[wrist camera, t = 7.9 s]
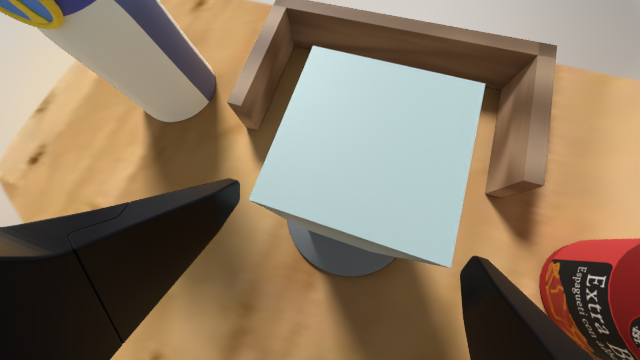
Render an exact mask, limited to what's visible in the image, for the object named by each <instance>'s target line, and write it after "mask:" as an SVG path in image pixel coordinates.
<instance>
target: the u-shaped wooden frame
mask: <svg viewBox="0 0 640 360" xmlns="http://www.w3.org/2000/svg"><path fill="white" fill-rule="evenodd" d="M294 46H298V47H303V48H307V49H312V47H313V46H317V47H321V48H326V49H331V50H335V51H340V52H344V53H349V54H353V55H358V56H362V57H367V58H371V59H376V60H381V61H385V62H390V63H394V64H399V65H403V66H408V67H412V68H417V69H421V70H426V71H430V72H435V73H440V74H444V75H449V76H453V77H458V78H462V79H467V80H471V81H476V82H480V83H485V87H490V88H495V89H499V90H501V93H500V100H499V106H498V113H497V119H496V126H495V132H494V139H493V145H492V152H491V158H490V165H489V171H488V178H487V184H486V191H485V194H488V195H492V196H496V197H499V198H503V197H506V196H510V195H513V194H517V193H520V192H524V191H527V190H531V189H534V188H538V187H541V186H544V183H545V172H546V161H547V150H548V139H549V128H550V117H551V106H552V95H553V84H554V73H555V62H556V51H557V50H556V49H557V46H556V45H551V44H546V43H540V42H534V41H529V40H523V39H517V38H512V37H506V36H501V35H495V34H490V33H484V32H479V31H474V30H468V29H463V28H457V27H452V26H446V25H441V24H435V23H429V22H424V21H419V20H413V19H408V18H402V17H397V16H391V15H386V14H380V13H375V12H369V11H364V10H358V9H353V8H347V7H342V6H336V5H331V4H325V3H319V2H314V1H309V0H276V1H275V3H274V5H273V7H272V9H271V11H270V13H269V15H268V17H267V19H266V21H265V24H264V26H263V28H262V30H261V32H260V34H259V36H258V38H257V40H256V42H255V44H254V47H253V49H252V51H251V53H250V55H249V57H248V59H247V61H246V63H245V65H244V67H243V69H242V72H241V74H240V76H239V78H238V80H237V82H236V84H235V86H234V88H233V90H232V92H231V94H230V97H229V99H228V101H227V103H228V104H229V106H230V107H231V108H232V110H233V111H234V112H235V114H236V115H237V116H238V117H239V119H240V120H241V121H242V123H243V124H244V125H245V127H246V128H250V129H254V130H257V131H258V129H259V127H260V125H261V122H262V120H263V118H264V115H265V113H266V111H267V108H268V106H269V104H270V101H271V99H272V97H273V94H274V92H275V89H276V87H277V85H278V82H279V80H280V78H281V75H282V73H283V71H284V68H285V66H286V64H287V61H288V59H289V57H290V54H291V52H292V50H293V47H294Z"/></svg>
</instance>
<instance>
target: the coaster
mask: <svg viewBox="0 0 640 360" xmlns="http://www.w3.org/2000/svg"><path fill="white" fill-rule="evenodd" d="M287 223H288V228H289V231H290V234H291V237H292V239H293V241H294V243H295V245H296V246H297V248H298V249H299V251H300V252H301V253H302V255H303V256H304V257H305V258H306V259H308V260H309V261H310V262H311V263H312V264H314V265H315V266H317V267H318V268H320V269H322V270H324V271H326V272H329V273H332V274H336V275H340V276H349V277H350V276H362V275H367V274H370V273H373V272H376V271H378V270H380V269H382V268H383V267H385V266H386V265H388V264H389V263H390V262H391V261H392V260H394V259H395V258H396V257H394V256H389V255H384V254H379V253H374V252H370V251H367V250H364V249H361V248H358V247H355V246H352V245H349V244H346V243H344V242H341V241H338V240H335V239H332V238H329V237H326V236H323V235H320V234H317V233H315V232H312V231H309V230H307V229H305V228H303V227H301V226H299V225H297V224H295V223H293V222H291V221H289V220H287Z"/></svg>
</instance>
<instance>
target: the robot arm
mask: <svg viewBox="0 0 640 360" xmlns="http://www.w3.org/2000/svg"><path fill="white" fill-rule="evenodd" d="M239 200H240V183H239V181H237V180H234V179H231V178H228V179H224V180H220V181H215V182H211V183H207V184H203V185H199V186H194V187H190V188H186V189H182V190H178V191H173V192H169V193H165V194H161V195H157V196H152V197H148V198H144V199H140V200H136V201H132V202H130V203H129V202H127V203H123V204H119V205H114V206H110V207H106V208H101V209H97V210H92V211H87V212H82V213H77V214H72V215H66V216H61V217H56V218H50V219H45V220H40V221H35V222H29V223H24V224H19V225H13V226H7V227H0V360H110V359H111V358H112V357H113V355H114V354H115V353H116V352H117V351H118V350H119V348H120V347H121V346H122V344H123V343H124V342H125V341H126V340H127V339H128V338H129V336H130V335H131V334H132V333H133V332H134V330H135V329H136V328H137V327H138V326H139V325H140V323H141V322H142V321H143V320H144V319H145V318H146V316H147V315H148V314H149V313H150V312H151V311H152V309H153V308H154V307H155V306H156V305H157V304H158V302H159V301H160V300H161V299H162V298H163V297H164V295H165V294H166V293H167V292H168V291H169V289H170V288H171V287H172V286H173V285H174V284H175V282H176V281H177V280H178V279H179V278H180V277H181V275H182V274H183V273H184V272H185V271H186V270H187V268H188V267H189V266H190V265H191V264H192V263H193V261H194V260H195V259H196V258H197V257H198V256H199V254H200V253H201V252H202V251H203V250H204V249H205V247H206V246H207V245H208V244H209V243H210V241H211V240H212V239H213V238H214V237H215V236H216V234H217V233H218V232H219V230H220V229H221V228H222V226H223V225H224V223H225V222H226V220H227V219H228V217H229V216H230V214H231V213H232V212H233V210H234V209H235V207H236V206H237V204H238V202H239ZM460 282H461V296H462V310H463V320H464V326H465V332H466V337H467V342H468V348H469V353H470V358H471V360H594V359H593V358H592V357H591V356H590V355H589V354H588V353H586V352H585V351H584V350H583V349H582V348H581V347H580V346H579V345H578V344H577V343H576V342H575V341H574V340H573V339H572V338H571V337H569V336H568V335H567V334H566V333H565V332H564V331H563V330H562V329H561V328H560V327H559V326H558V325H557V324H556V323H555V322H554V321H552V320H551V319H550V318H549V317H548V316H547V315H546V314H545V313H544V312H543V311H542V310H541V309H540V308H539V307H538V306H537V305H536V304H534V303H533V302H532V301H531V300H530V299H529V298H528V297H527V296H526V295H525V294H524V293H523V292H522V291H521V290H520V289H519V288H517V287H516V286H515V285H514V284H513V283H512V282H511V281H510V280H509V279H508V278H507V277H506V276H505V275H504V274H503V273H502V272H500V271H499V270H498V269H497V268H496V267H495V266H494V265H493V264H492V263H491V262H490V261H489V260H487V259H485V258H482V257H479V256H472V257H471V258H470V260H469V261H468V262H467V264H466V265H465V266H464V268H463V269H462V271H461V274H460Z"/></svg>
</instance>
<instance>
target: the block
mask: <svg viewBox="0 0 640 360" xmlns="http://www.w3.org/2000/svg"><path fill="white" fill-rule="evenodd" d="M484 89H485V83H480V82H476V81H471V80H467V79H462V78H458V77H453V76H449V75H444V74H440V73H435V72H430V71H426V70H421V69H417V68H412V67H408V66H403V65H399V64H394V63H390V62H385V61H381V60H376V59H371V58H367V57H362V56H358V55H353V54H349V53H344V52H340V51H335V50H331V49H326V48H321V47H317V46H313V47H312V49H311V52H310V54H309V57H308V59H307V61H306V64H305V66H304V69H303V71H302V73H301V76H300V78H299V81H298V83H297V85H296V88H295V90H294V93H293V95H292V97H291V100H290V102H289V105H288V107H287V109H286V112H285V114H284V117H283V119H282V121H281V124H280V126H279V129H278V131H277V133H276V136H275V138H274V141H273V143H272V145H271V148H270V150H269V153H268V155H267V157H266V160H265V162H264V164H263V167H262V169H261V172H260V174H259V176H258V179H257V181H256V184H255V186H254V188H253V191H252V193H251V196H250V198H249V200H250V201H252V202H254V203H256V204H258V205H260V206H262V207H264V208H266V209H268V210H270V211H272V212H274V213H276V214H277V215H279V216H281V217H283V218H285V219H287V220H289V221H291V222H293V223H295V224H297V225H299V226H301V227H303V228H305V229H307V230H309V231H312V232H315V233H317V234H320V235H323V236H326V237H329V238H332V239H335V240H338V241H341V242H344V243H346V244H349V245H352V246H355V247H358V248H361V249H364V250H367V251H370V252H374V253H379V254H384V255H389V256H394V257H399V258H404V259H409V260H413V261H418V262H423V263H428V264H433V265H438V266H443V267H448V268H451V264H452V259H453V254H454V248H455V243H456V238H457V233H458V227H459V222H460V217H461V211H462V206H463V201H464V195H465V190H466V185H467V179H468V174H469V169H470V163H471V158H472V153H473V147H474V142H475V137H476V132H477V126H478V121H479V116H480V110H481V105H482V100H483V94H484Z"/></svg>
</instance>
